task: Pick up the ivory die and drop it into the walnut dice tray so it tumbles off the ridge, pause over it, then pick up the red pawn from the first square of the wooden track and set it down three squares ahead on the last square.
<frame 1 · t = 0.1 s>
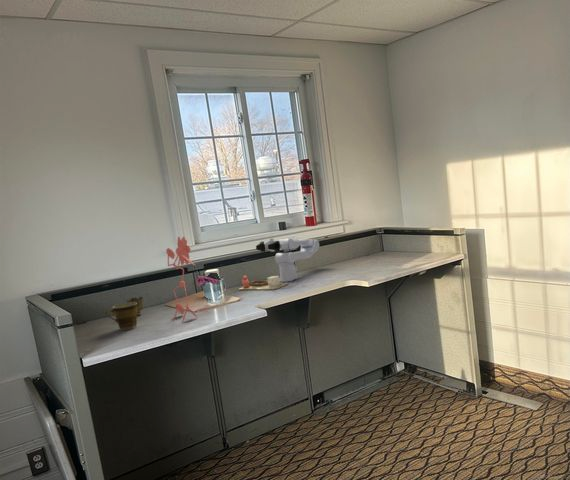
hand: (262, 247, 265), 22 cm above the worktop, tool horizontal, fingers open, 7 cm apart
board: (263, 287, 270), on the worktop
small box: (214, 295, 265), on the worktop
cup: (137, 315, 237), on the worktop
figurine: (192, 316, 221), on the worktop
ceramic cup: (124, 329, 212), on the worktop
die: (274, 285, 269), resting on board
pawn: (246, 287, 271), point 1 cm above the worktop, touching board
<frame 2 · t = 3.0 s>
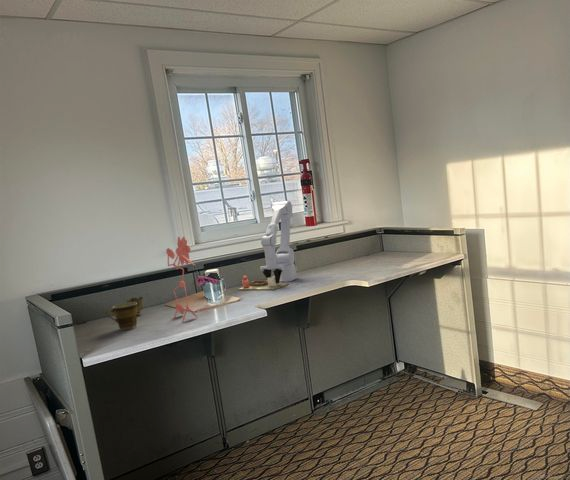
hand: (273, 283, 269), 2 cm above the worktop, tool pointing down, fingers closed on die, 5 cm apart
die: (274, 285, 269), point 1 cm above the worktop, touching gripper
everything else where it was.
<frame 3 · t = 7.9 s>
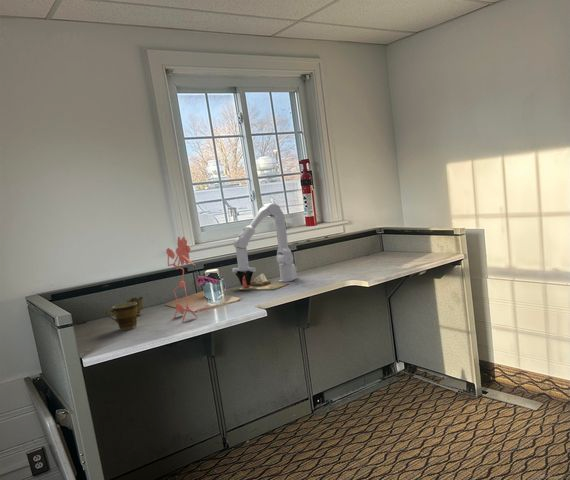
hand: (245, 285, 271), 2 cm above the worktop, tool pointing down, fingers closed on pawn, 3 cm apart
die: (257, 281, 275), point 3 cm above the worktop, tilted 64°, touching board
pawn: (246, 287, 271), point 1 cm above the worktop, touching board, gripper
everything else where it was.
when the fingers open (3 cm above the worktop, at t = 11.1 s): pawn stays where it is, resting on board.
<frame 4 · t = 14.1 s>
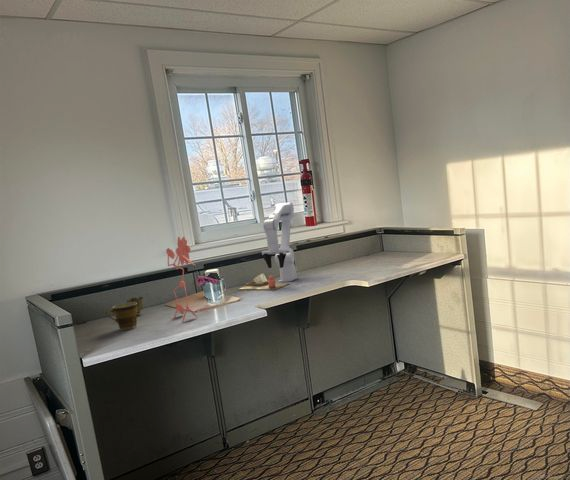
hand: (275, 267, 267), 10 cm above the worktop, tool pointing down, fingers open, 7 cm apart
pawn: (272, 287, 262), point 1 cm above the worktop, touching board
everything else where it was.
at the end: pawn 0.2 cm from the target spot, point 0.7 cm above the worktop; pawn tilted 1°; die inside the target area (0.4 cm from its centre), point 2.5 cm above the worktop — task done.
